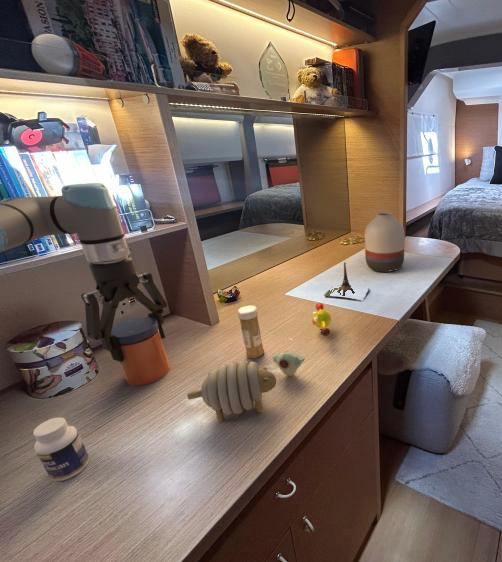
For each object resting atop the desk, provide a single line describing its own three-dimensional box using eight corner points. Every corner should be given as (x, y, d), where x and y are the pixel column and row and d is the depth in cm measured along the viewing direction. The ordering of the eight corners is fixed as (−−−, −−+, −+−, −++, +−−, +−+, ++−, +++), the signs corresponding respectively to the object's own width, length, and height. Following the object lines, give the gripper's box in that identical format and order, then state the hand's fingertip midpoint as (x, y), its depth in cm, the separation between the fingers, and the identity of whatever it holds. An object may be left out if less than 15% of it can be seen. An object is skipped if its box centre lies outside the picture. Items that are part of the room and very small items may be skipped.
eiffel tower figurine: (370, 289, 127) (369, 256, 122) (362, 301, 118) (361, 265, 113) (333, 286, 131) (331, 253, 126) (323, 297, 122) (320, 262, 117)
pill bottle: (44, 487, 56) (19, 444, 52) (57, 461, 61) (35, 420, 57) (84, 475, 58) (63, 432, 54) (94, 450, 63) (75, 410, 59)
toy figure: (310, 318, 108) (308, 299, 105) (328, 316, 109) (326, 297, 106) (316, 349, 92) (314, 327, 89) (336, 346, 93) (334, 324, 90)
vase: (395, 276, 139) (395, 219, 130) (358, 271, 146) (356, 216, 136) (409, 264, 153) (410, 211, 144) (375, 259, 160) (374, 208, 150)
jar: (117, 383, 80) (99, 337, 76) (148, 360, 89) (133, 317, 84) (150, 387, 79) (134, 341, 74) (178, 363, 87) (165, 320, 82)
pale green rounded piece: (308, 372, 83) (305, 349, 80) (301, 383, 79) (298, 359, 76) (278, 368, 84) (274, 345, 82) (270, 379, 81) (266, 355, 78)
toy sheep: (282, 415, 70) (275, 370, 66) (192, 441, 64) (177, 395, 60) (276, 383, 79) (269, 343, 75) (196, 404, 73) (184, 362, 69)
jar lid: (167, 329, 80) (165, 322, 80) (122, 349, 73) (119, 341, 72) (146, 319, 85) (144, 312, 85) (103, 336, 78) (100, 329, 77)
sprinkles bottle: (265, 355, 89) (257, 310, 84) (247, 360, 88) (238, 314, 82) (262, 347, 93) (255, 303, 88) (245, 351, 91) (236, 307, 86)
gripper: (60, 280, 61) (101, 379, 70) (169, 246, 80) (190, 328, 89) (36, 275, 64) (78, 371, 73) (147, 243, 83) (170, 323, 92)
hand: (140, 347), depth 81 cm, fingers closed on jar lid, 9 cm apart
